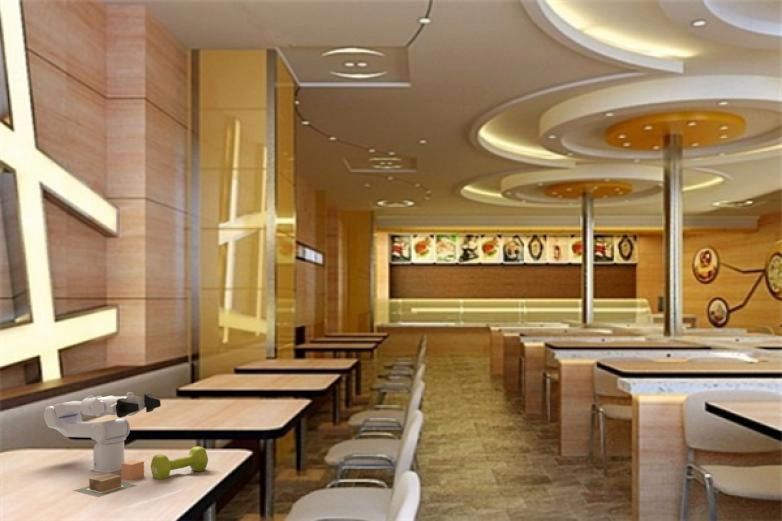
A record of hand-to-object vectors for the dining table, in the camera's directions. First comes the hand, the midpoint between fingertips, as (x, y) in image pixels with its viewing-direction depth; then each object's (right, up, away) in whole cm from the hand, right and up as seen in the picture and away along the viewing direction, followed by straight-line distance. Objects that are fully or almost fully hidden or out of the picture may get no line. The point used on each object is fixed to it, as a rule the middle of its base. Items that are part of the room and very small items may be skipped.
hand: (148, 405), depth 204 cm
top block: (-4, -22, -1) cm, 22 cm away
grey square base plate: (-8, -22, -12) cm, 26 cm away
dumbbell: (+9, -22, +2) cm, 24 cm away
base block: (-8, -21, -12) cm, 25 cm away
